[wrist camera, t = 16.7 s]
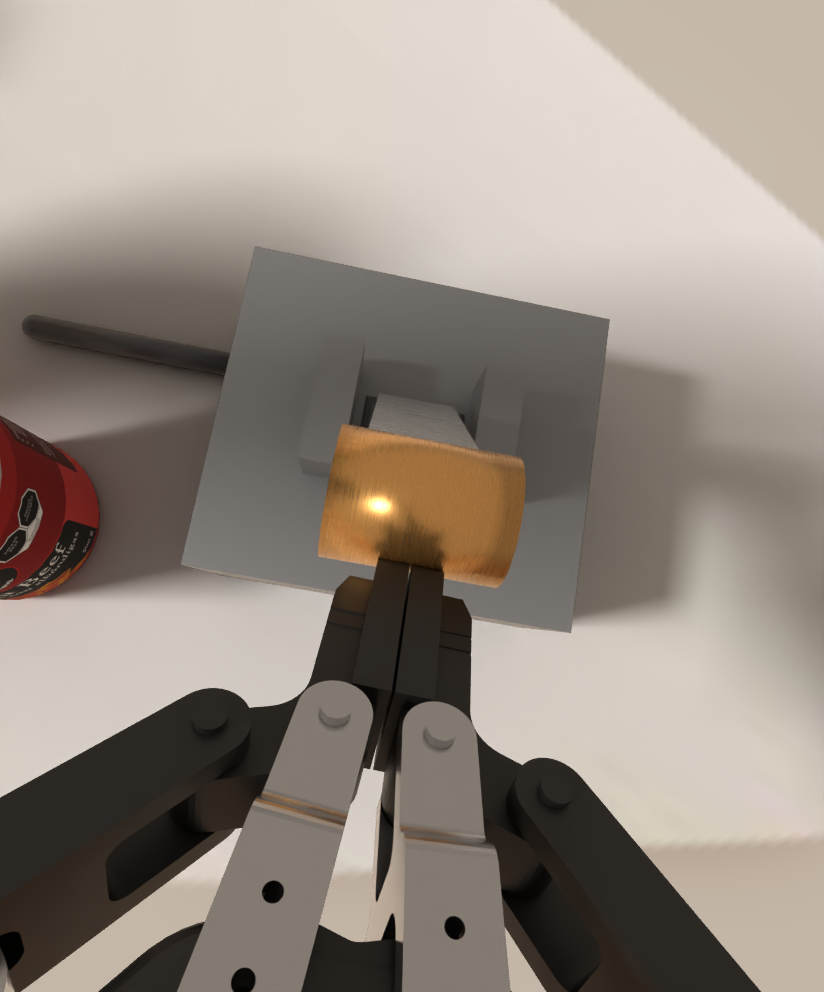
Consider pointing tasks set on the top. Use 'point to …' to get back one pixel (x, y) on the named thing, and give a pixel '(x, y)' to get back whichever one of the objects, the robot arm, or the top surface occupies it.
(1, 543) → the canned food
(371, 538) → the breaker lever
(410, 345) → the box
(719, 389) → the top surface
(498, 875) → the robot arm
